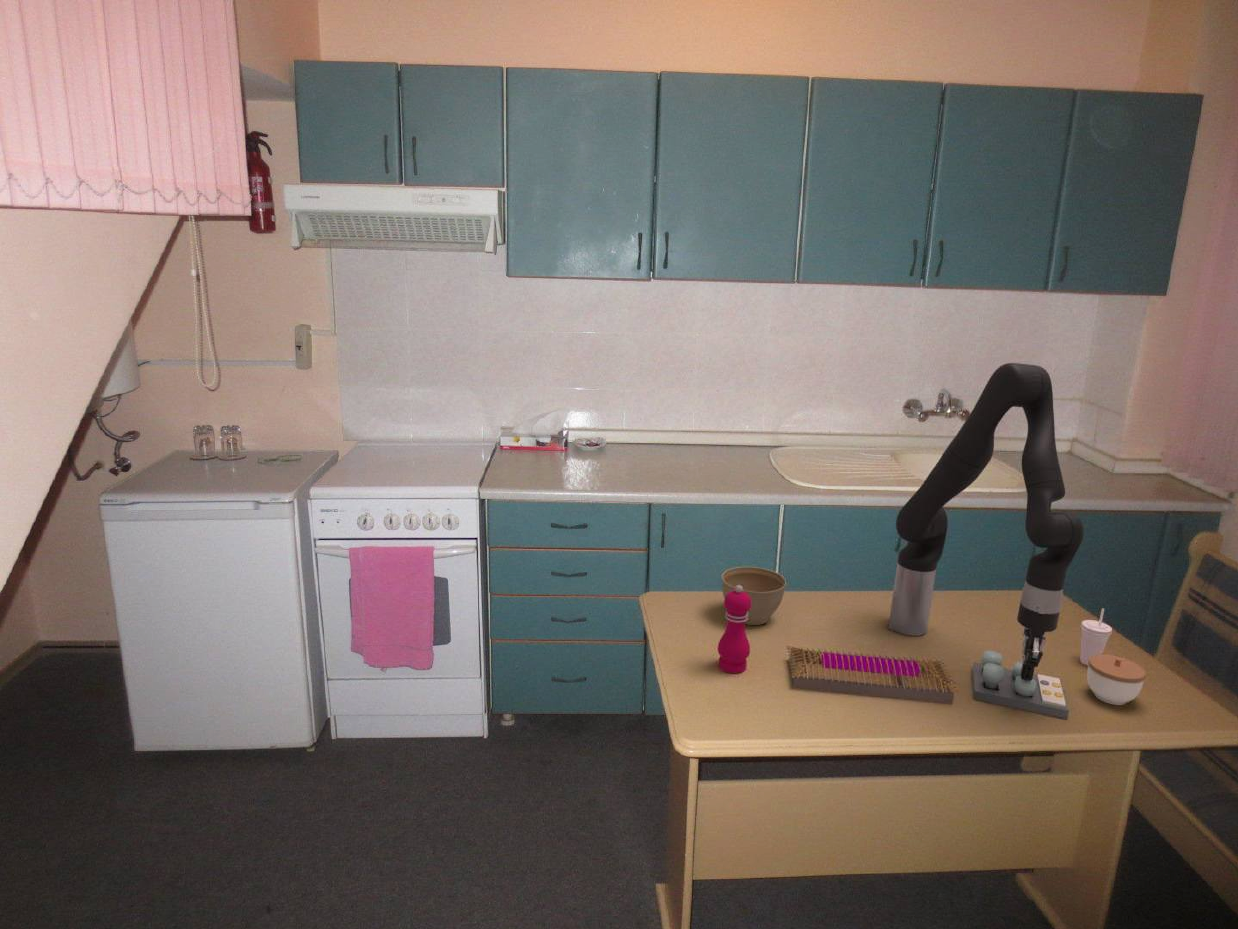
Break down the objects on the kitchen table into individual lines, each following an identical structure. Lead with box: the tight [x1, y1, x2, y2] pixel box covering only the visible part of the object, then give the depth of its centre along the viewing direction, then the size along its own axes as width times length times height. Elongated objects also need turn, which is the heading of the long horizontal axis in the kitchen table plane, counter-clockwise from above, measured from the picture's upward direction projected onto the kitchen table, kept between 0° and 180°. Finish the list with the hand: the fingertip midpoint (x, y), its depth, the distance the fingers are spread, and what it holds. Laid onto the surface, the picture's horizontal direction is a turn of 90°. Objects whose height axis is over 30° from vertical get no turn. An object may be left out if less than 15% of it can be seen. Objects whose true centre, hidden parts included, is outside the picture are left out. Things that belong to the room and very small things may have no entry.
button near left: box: [982, 663, 1004, 689], centre depth 179 cm, size 4×4×4 cm
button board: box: [972, 661, 1069, 720], centre depth 180 cm, size 18×14×3 cm
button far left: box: [981, 649, 1003, 667], centre depth 184 cm, size 4×4×4 cm
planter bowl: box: [721, 566, 787, 626], centre depth 210 cm, size 16×16×11 cm
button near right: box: [1014, 676, 1036, 697], centre depth 177 cm, size 4×4×4 cm
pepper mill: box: [717, 585, 751, 674], centre depth 184 cm, size 7×7×20 cm
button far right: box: [1012, 661, 1023, 680], centre depth 183 cm, size 4×4×4 cm
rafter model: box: [786, 645, 961, 705], centre depth 182 cm, size 35×14×6 cm, turn 83°
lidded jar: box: [1086, 653, 1147, 706], centre depth 179 cm, size 11×11×9 cm
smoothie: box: [1079, 608, 1113, 667], centre depth 194 cm, size 6×6×14 cm
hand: (1025, 678), depth 176 cm, fingers closed
